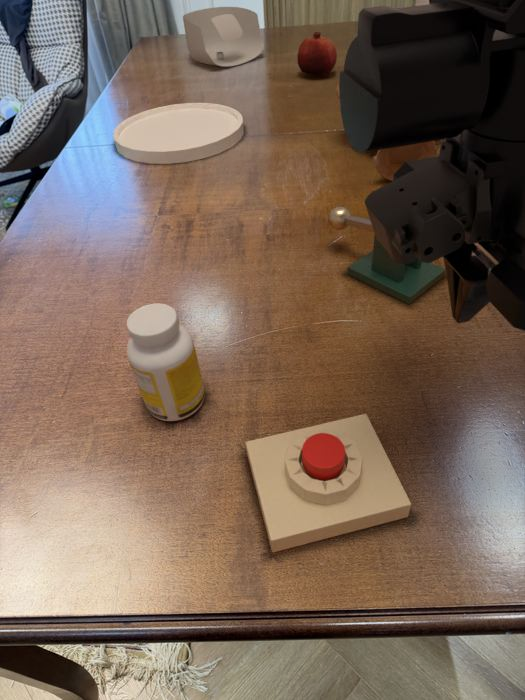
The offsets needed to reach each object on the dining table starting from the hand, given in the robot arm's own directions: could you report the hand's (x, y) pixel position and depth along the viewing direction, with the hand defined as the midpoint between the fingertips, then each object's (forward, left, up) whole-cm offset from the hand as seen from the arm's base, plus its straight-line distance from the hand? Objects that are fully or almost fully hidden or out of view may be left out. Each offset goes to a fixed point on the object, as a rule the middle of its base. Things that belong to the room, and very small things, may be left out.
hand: (460, 319), depth 41 cm
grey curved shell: (-3, -143, -13) cm, 144 cm away
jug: (-22, -61, -13) cm, 66 cm away
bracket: (-6, -24, -13) cm, 28 cm away
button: (+13, +4, -9) cm, 17 cm away
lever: (-4, -28, -9) cm, 29 cm away
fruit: (-24, -114, -13) cm, 117 cm away
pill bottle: (+25, -10, -13) cm, 30 cm away
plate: (+16, -86, -13) cm, 88 cm away
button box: (+13, +4, -13) cm, 19 cm away
